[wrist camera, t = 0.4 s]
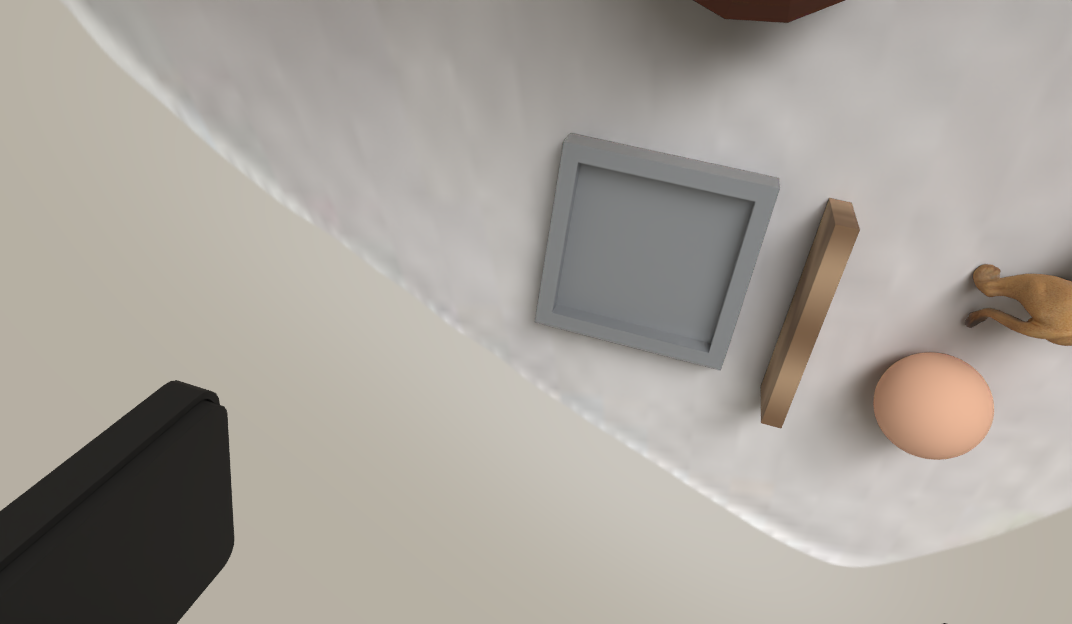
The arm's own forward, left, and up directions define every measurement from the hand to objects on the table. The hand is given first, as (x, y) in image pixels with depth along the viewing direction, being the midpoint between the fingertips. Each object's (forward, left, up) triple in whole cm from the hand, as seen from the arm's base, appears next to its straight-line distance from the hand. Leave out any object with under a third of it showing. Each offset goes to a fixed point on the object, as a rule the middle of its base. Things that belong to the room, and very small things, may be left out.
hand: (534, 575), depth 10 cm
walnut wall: (+12, +9, -35) cm, 38 cm away
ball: (+15, +17, -35) cm, 41 cm away
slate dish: (+11, -1, -35) cm, 37 cm away
